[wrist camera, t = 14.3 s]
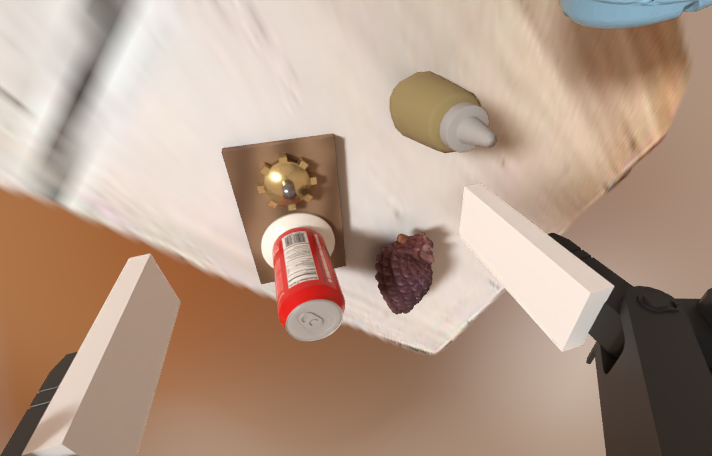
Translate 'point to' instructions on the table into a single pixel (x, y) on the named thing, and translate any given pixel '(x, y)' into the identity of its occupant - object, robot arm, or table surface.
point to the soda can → (306, 285)
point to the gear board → (260, 215)
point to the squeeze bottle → (440, 114)
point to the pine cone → (405, 271)
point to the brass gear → (286, 182)
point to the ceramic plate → (295, 221)
